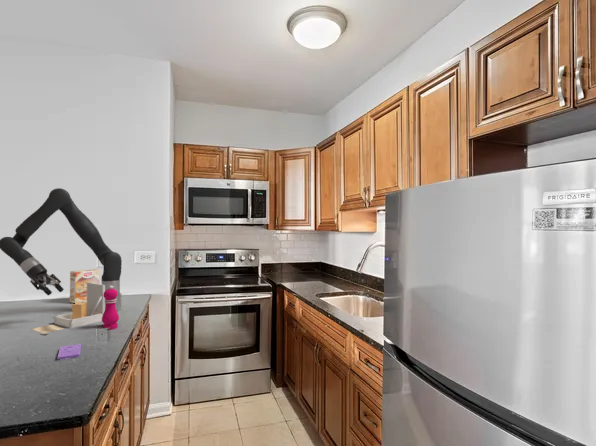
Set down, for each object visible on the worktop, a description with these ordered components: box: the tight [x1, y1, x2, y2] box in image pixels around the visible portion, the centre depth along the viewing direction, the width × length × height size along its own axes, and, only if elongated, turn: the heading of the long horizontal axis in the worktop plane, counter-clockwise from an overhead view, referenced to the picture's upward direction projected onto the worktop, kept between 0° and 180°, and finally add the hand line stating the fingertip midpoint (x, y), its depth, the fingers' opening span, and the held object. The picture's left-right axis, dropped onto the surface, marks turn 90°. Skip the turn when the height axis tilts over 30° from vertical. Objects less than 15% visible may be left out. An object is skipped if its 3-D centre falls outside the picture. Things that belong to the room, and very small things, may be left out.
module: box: [71, 302, 87, 319], centre depth 179 cm, size 4×4×9 cm
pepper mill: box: [101, 286, 120, 331], centre depth 173 cm, size 7×7×20 cm
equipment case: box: [53, 283, 105, 329], centre depth 179 cm, size 17×14×18 cm
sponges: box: [57, 343, 82, 360], centre depth 139 cm, size 7×13×2 cm, turn 29°
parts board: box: [30, 324, 66, 337], centre depth 167 cm, size 9×12×1 cm
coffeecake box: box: [69, 268, 101, 304], centre depth 231 cm, size 15×7×20 cm, turn 147°
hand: (56, 292), depth 179 cm, fingers open, 8 cm apart
